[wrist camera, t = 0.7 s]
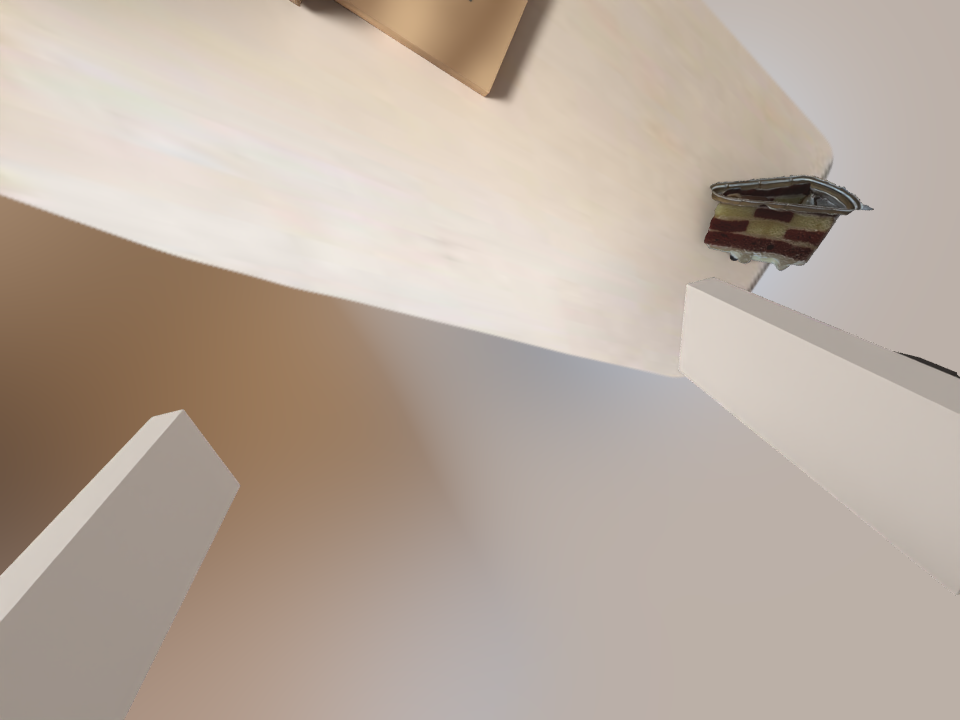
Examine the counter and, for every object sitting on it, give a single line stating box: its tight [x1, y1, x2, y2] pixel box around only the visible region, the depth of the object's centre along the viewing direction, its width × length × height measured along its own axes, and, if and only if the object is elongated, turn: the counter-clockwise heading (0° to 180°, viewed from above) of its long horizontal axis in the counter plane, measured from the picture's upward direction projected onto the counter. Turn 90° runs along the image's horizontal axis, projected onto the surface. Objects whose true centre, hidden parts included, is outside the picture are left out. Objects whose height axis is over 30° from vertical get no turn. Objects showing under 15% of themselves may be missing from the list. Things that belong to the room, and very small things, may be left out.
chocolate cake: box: [704, 175, 874, 271], centre depth 36 cm, size 10×7×12 cm
